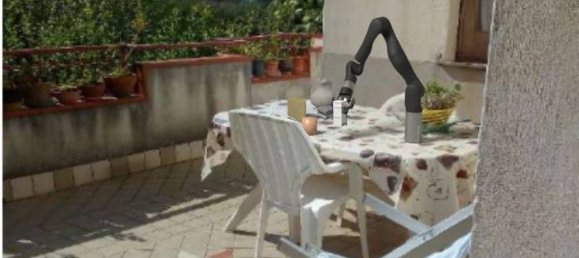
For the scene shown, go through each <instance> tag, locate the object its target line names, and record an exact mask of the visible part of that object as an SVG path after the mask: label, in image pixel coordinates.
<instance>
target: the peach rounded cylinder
mask: <svg viewBox="0 0 579 258" xmlns="http://www.w3.org/2000/svg"><path fill="white" fill-rule="evenodd" d="M302 126H303V128H304V130H305V131H306V133H307V134H308V135H309V136H308V137H314V135H315V136H317V135H318V116H317V117H316V116H306V117H302V123H301V127H302Z"/></svg>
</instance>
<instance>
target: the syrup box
mask: <svg viewBox="0 0 579 258" xmlns="http://www.w3.org/2000/svg"><path fill="white" fill-rule="evenodd" d="M346 105H347V101H346V100H336V101H333V114H334V119H333V126H335V127H340V128H342V127H345V126H348V118H347V115H348V113H347V114H345V113H344V111H345V108H346V107H347V106H346Z"/></svg>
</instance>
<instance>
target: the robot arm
mask: <svg viewBox="0 0 579 258" xmlns="http://www.w3.org/2000/svg"><path fill="white" fill-rule="evenodd" d="M379 35H381V36H382V38H383V40H384V42H385V44H386V53H387V57H388V60H389V61H390V64H391V65H392V67H393V68H394V69H395V70H396V72H397V73H398V74H399V75H400V76H401V77H402V79H403V80H404V81H405V84H406V88H405V91H404V108H405V117H404V118H405V119H404V135H403V136H404V137H403V138H404V139H403V140H404V142H405V143H408V144H409V143H410V144H420V143H421V142H423V122H422V121H423V106H422V98H423V97H424V95H425V93H426V89H425V86H424V84H423V83H422V81H421V80H420V78H419V77H418V75H417V74H416V72H415V70H414V68H413V66H412V64H411V63H410V60H409V57H408V56H407V53H406V52H405V50H404V49H403V47H402V45H401V43H400V41H399V39H398V37H397V36H396V32H395V30H394V28H393V25H392V23H391V21H390V19H388V17H387V16H380V17H379V16H378V17H374V19H371V21H370V23H369V25H368V29H367V31H366V34H365V36H364V38H363V41H362V43H361V45H360V47H359V48H358V50H357V52H356V53H355V56H354V60H355V61H353V60H349V61H348V62H347V63H346V65H345V77H344V80H343V82H342V85H341V87H340V90H339V93H338V96H336V98H335V97H332V101H331V106H332V107H333V101H337V100H346V101H347V105H346V106H347V107H346V108H345V111H344V113H345V114H347V115H348V113H349V110H350V109H351V110H352V109H354V106H355V104H356V99H355V97H353V94H354V91H355V87H356V84H357V81H358V78H357V77H359V76H361V75H362V74H363V73H364V68H365V65H366V62H367V60H368V58H369V56H370V55H371V53H372V51H373V45H374V43H375V41H376V39H377V38H378V36H379ZM352 97H353V98H352ZM332 112H333V108H332Z"/></svg>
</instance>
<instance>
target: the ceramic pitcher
mask: <svg viewBox="0 0 579 258" xmlns="http://www.w3.org/2000/svg"><path fill="white" fill-rule="evenodd" d="M313 82H314V85H315V90H314V91H313V92H311V94H310V98H309V99H310V103H311V105H312V106H314V107H315V109H316V108H318V107H321V106H331V101H332V97H335V98H337V95H336V94H335V92H334V91H333V90H332V85H333V83H334V81H333V80H331V79H327V77H326V75H322V80H321V78H317V79H315V80H314V81H313Z"/></svg>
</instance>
